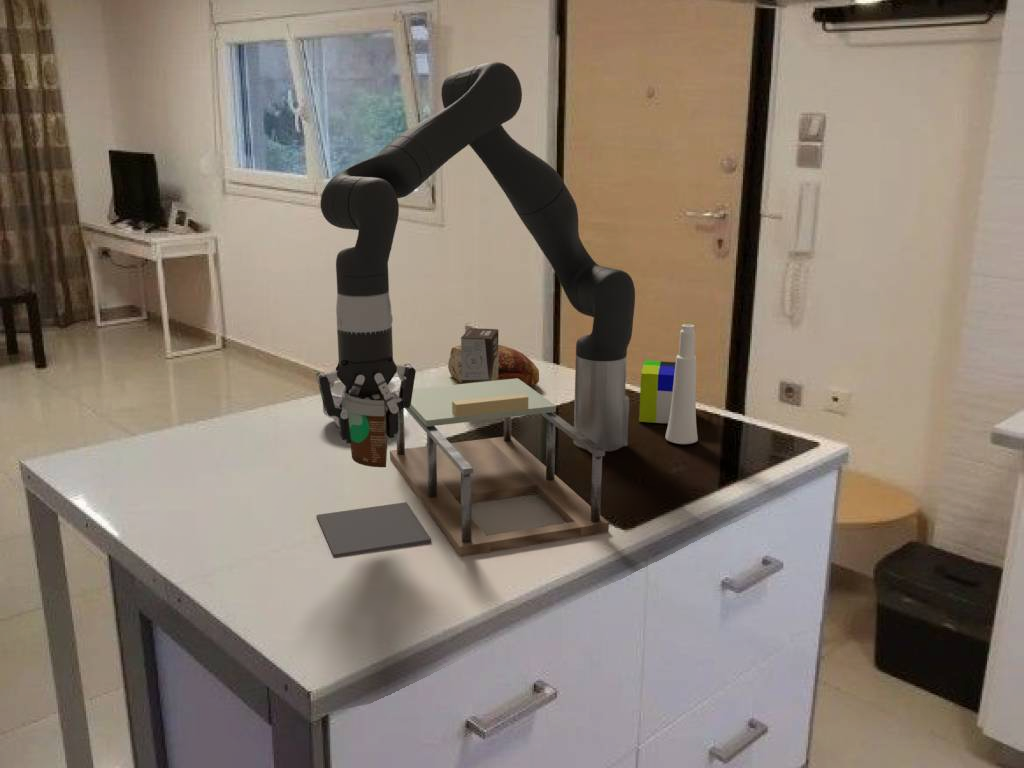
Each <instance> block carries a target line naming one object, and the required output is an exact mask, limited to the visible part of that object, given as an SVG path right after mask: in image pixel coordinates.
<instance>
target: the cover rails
mask: <svg viewBox="0 0 1024 768" xmlns="http://www.w3.org/2000/svg"><path fill="white" fill-rule="evenodd" d="M394 396H395V400H396V399H398V398H399V391H394ZM404 409H405V410H404ZM404 411H407V412H408V413H409V415H410V416H411V417H412V418H413V419H414V420H415V422H416V423H417V424H418V425H419V426H420V427H421V428H422V429H423V431H424V432H425V433H426V444H427V445H426V446H427V459H428V496H429V497H437V456H436V445H438V447H439V448H440V449H441V450H442V451H443V452H444V453H445V454H446V456H447V457H448V458H449V459H450V460H451V461H452V462H453V464H454V465H455V466H456V467H457V468H458V469H459V470H460V472H461V529H462V542H464V543H469V542H471V541H472V529H471V518H472V503H471V474H473V467H472V466H471V465H470V464H469V463H468V462H467V461H466V460H465V459H464V458H463V457H462V455H461V454H460V453H459V452H458V451H457V450H456V449H455V448H454V447H453V446H452V445H451V444H450V443H451V442H450V441H449V440H448V439H447V438H446V437H445V436H444V435H443V434H442V432H440V431H439V430H438V428H437V427H436V426H429V427H426V426H425V425H424V424H423V423H422V421H421V420H420V419H419V418H418V417H417V416H416V415H415V414H414V412H413V411H412V410H411V409H410V408H409V407H408V408H403V409H401V410H400V411H399V412H398V429H399V430H398V433H397V434H395V435H396V439H395V440H396V450H397V454H398V455H403V454H405V449H406V444H405V440H406V439H405V412H404ZM540 415H541V416H542V417H544V418H545V419H546V454H545V455H546V457H545V458H546V459H545V460H546V461H545V466H546V480H548V481H552V480H554V479H555V475H556V474H555V472H556V471H555V470H556V468H555V467H556V428H558V429H559V430H561V431H562V432H563V433H564V434H565V435H567V436H568V437H569V438H570V439H572V440H573V441H574V440H575V441H576V442H577V443H579V444H580V445H581V446H583V447H584V448H585V449H584V450H586V451H588V452H589V453H591V454H592V458H591V459H592V461H591V462H592V463H591V464H592V467H591V468H592V469H591V490H590V491H591V492H590V494H591V495H590V496H591V497H590V506H591V521H592V522H599V521H600V515H601V502H602V500H601V499H602V475H603V474H602V473H603V471H602V470H603V457H605V455H606V451H605V450H604V449H602V448H601V447H600V446H598V445H597V444H596V443H594V442H593V441H592V440H590V439H589V438H587V437H586V436H585V435H583V434H582V433H581V432H579V431H578V430H577V429H575V428H574V425H572V424H570V423H569V422H567V421H566V420H565V419H563V418H562V417H560V416H559V415H557V414H556V412H550V413H542V414H540ZM511 436H512V417H507V418H503V437H504V441H511Z"/></svg>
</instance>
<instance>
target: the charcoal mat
mask: <svg viewBox="0 0 1024 768" xmlns="http://www.w3.org/2000/svg"><path fill="white" fill-rule="evenodd" d="M316 519H317V521H318V524H319V526H320V528H321V531H322V533H323V535H324V538H325V540H326V542H327V545H328V546H329V549H330V551H331V554H332V557H333V558H338V557H343V556H345V557H346V556H350V555H358V554H364V553H372V552H378V551H385V550H390V549H398V548H404V547H411V546H417V545H425V544H432V538H431V536H430V534H428V532H427V531H426V529H425V527H424V526H423V524H422V523H421V522H420V520H419V518H418V517H417V516H416V514H415V513H414V511H413V509H412V508H411V507H410V505H409V504H408V502H407V501H404V502H398V503H390V504H384V505H378V506H370V507H362V508H357V509H348V510H343V511H342V510H341V511H335V512H329V513H319V514H316Z"/></svg>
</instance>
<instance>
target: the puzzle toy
mask: <svg viewBox="0 0 1024 768" xmlns="http://www.w3.org/2000/svg"><path fill="white" fill-rule="evenodd" d="M675 364H676V361H662V360H661V361H656V360H644V362H643V366H642V369H641V372H640V390H639V391H640V392H639V412H638V413H639V416H638V422H640V423H652V424H653V423H654V424H667V425H668V422H669V417H670V410H671V402H672V393H673V383H674V373H675Z"/></svg>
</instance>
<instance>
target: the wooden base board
mask: <svg viewBox="0 0 1024 768" xmlns="http://www.w3.org/2000/svg"><path fill="white" fill-rule="evenodd" d="M450 444H451V445H452V446H453V447H454V448H455V449H456V450H457V451H458V452H459V453H460V454H461V455H462V457H463V458H464V459H465V460H466V461H467V462H468V463H469V464H470V465H471V466H472V467H473V474H471V504H474V503H480V502H487V501H488V502H489V501H492V500H493V501H495V500H501V499H507V498H513V497H514V498H515V497H516V498H517V497H521V496H529V495H535V494H537V495H538V496H539V498H541V499H542V500H543V501H544V502H545V503H546V504H547V505H548V506H549V507H550V508H551V509H552V510H553V511H554V512H555V513H556V514H557V515H558V516H559V517H560V518H561V519H562V520H563V521H564V522H565V523H560V524H559V523H557V524H553V525H545V526H541V527H534V528H527V529H521V530H514V531H509V532H503V533H501V532H500V533H496V534H491V535H485V532H483V531H482V529H480V527H479V526H478V525H477V524H476V522H475V521H474V520H473V519H472V517H471V529H472V541H471V542H469V543H464V542H462V529H461V472H460V470H459V469H458V468H457V467H456V466H455V465H454V464H453V462H452V461H451V460H450V459H449V458H448V457H447V456H446V454H445V453H444V452H443V451H442V450H441V449H440V448H439V447H438V445H437V444H436V456H437V497H429V496H428V459H427V445H425V446H417V447H409V448H408V447H407V448H405V454H403V455H398V454H397V449H393V450H389V458H390V460H391V461H392V463H393V464H394V466H395V467H396V468H397V470H398V472H399V473H400V474H401V476H402V477H403V479H404V480H405V481H406V482H407V484H408V486H409V488H411V490H412V491H413V492H414V494H415V496H416V497H417V498H418V500H419V501H420V503H421V504H422V506H423V507H424V508H425V510H426V511H427V512H428V514H429V515H430V517H431V518H432V519H433V521H434V522H435V524H436V525H437V527H438V528H439V530H440V531H441V532H442V533H443V535H444V536H445V538H446V539H447V541H448V542H449V544H450V546H452V548H453V549H454V550H455V552H456V554H457V555H458V556H459V557H461V558H462V557H466V556H471V555H478V554H484V553H490V552H495V551H496V552H497V551H501V550H508V549H514V548H519V547H521V548H522V547H525V546H526V547H527V546H533V545H538V544H544V543H550V542H556V541H563V540H568V539H573V538H580V537H581V538H582V537H586V536H591V535H598V534H604V533H605V534H606V533H609V530H610V529H609V528H610V522H609V521H608V520H607V519H606V518H604V517H603V516H602V515H601V514H600V521H599V522H592V521H591V504H589V503H588V502H586V501H585V500H584V499H583V497H581V496H579V495H578V493H576V492H575V490H573V489H572V488H571V487H569V486H568V485H567V484H566V482H564V481H563V480H562V479H561V478H559V476H557V475H556V474H555V479H554V480H552V481H548V480H546V464H544V463H542V462H541V460H539V459H538V458H537V457H536V456H534V454H532V452H530V451H529V450H528V449H527V448H526V447H525V446H523V444H521V443H520V442H519V441H518V440H517V439H516V438H515V437H514V436H512V435H511V441H504V436H498V437H491V438H483V439H475V440H466V441H458V442H450Z"/></svg>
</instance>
